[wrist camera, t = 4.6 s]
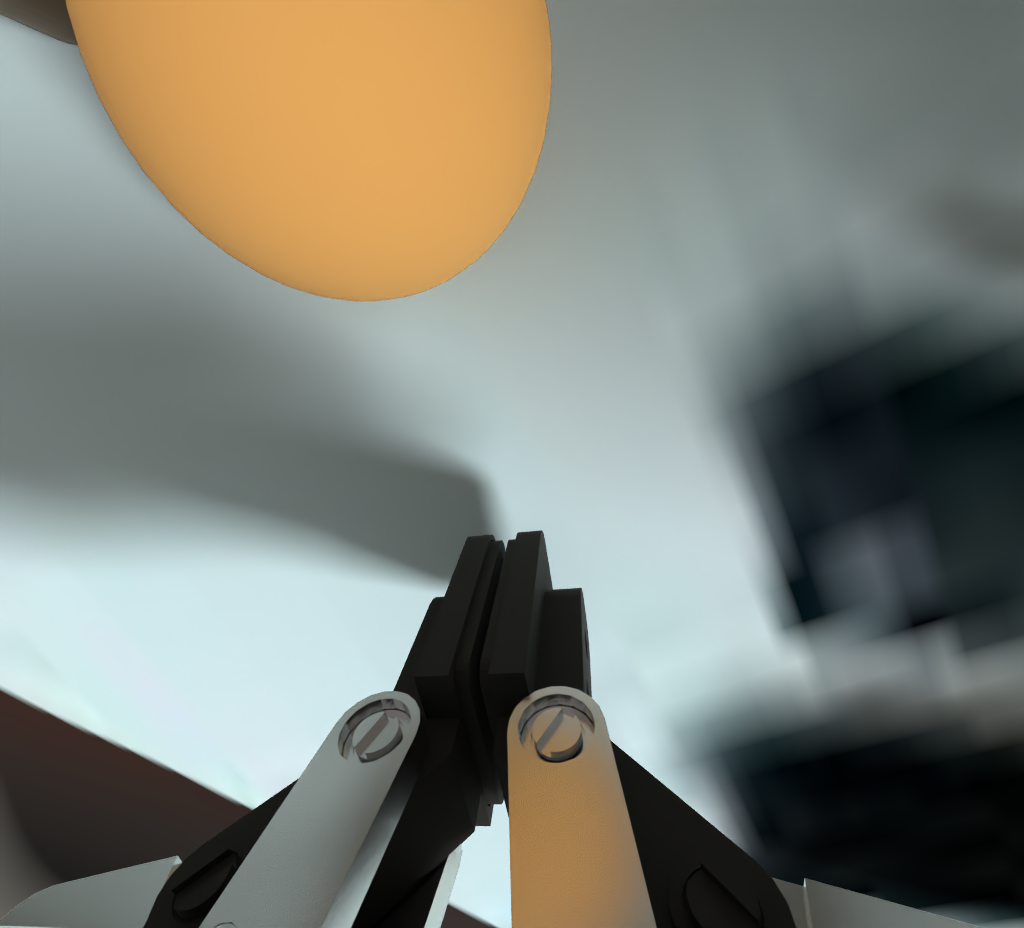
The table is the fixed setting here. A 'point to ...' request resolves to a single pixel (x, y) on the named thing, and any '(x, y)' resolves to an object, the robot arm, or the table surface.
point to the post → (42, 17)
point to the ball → (330, 127)
